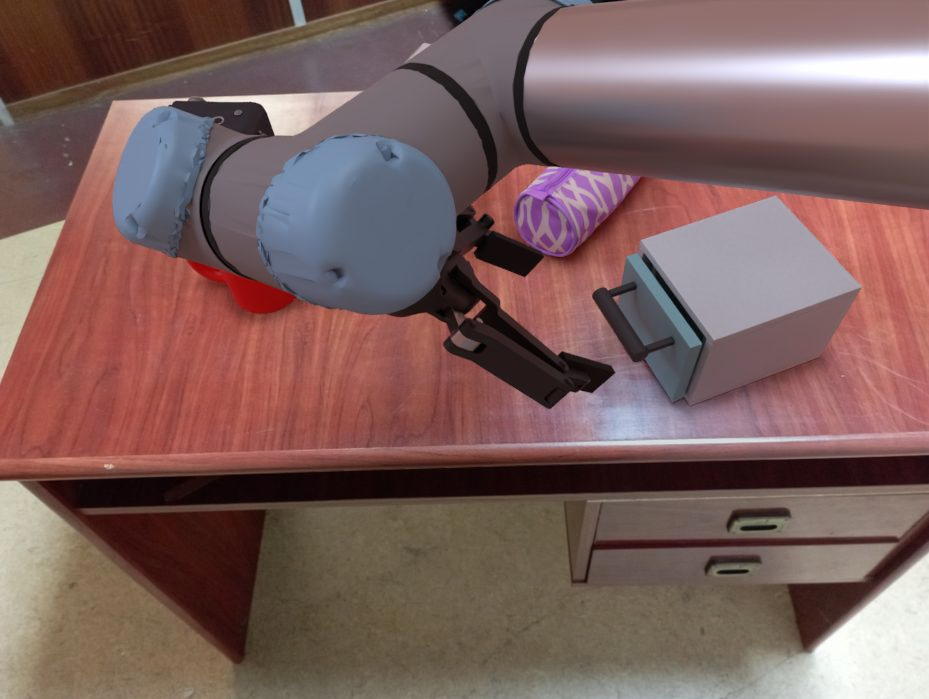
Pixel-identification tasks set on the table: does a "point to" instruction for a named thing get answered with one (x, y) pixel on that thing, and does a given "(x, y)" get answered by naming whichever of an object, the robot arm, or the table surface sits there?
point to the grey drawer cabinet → (752, 292)
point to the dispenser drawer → (653, 325)
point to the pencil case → (567, 207)
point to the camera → (230, 114)
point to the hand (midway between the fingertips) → (565, 318)
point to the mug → (247, 290)
